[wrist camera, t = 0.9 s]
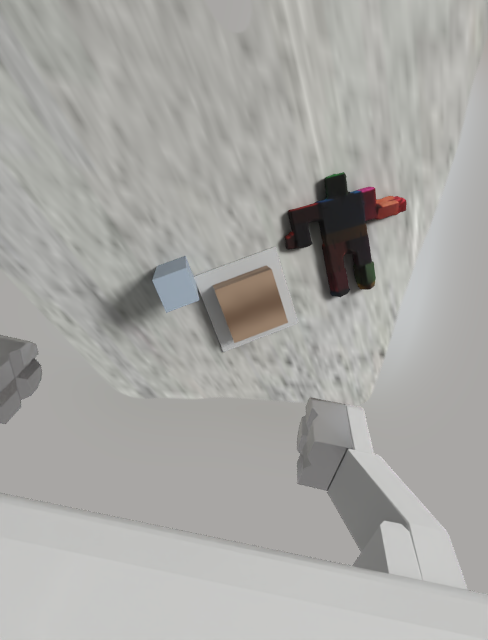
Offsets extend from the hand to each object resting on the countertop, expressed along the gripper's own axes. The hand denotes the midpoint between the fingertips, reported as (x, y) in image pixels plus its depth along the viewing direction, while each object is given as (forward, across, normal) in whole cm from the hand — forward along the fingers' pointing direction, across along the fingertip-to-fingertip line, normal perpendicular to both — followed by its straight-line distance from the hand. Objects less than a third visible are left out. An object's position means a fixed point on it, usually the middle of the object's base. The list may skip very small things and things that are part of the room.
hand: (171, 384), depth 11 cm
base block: (+37, -1, +18) cm, 41 cm away
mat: (+37, -1, +18) cm, 41 cm away
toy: (+44, -12, +8) cm, 46 cm away
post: (+36, +9, +15) cm, 40 cm away
